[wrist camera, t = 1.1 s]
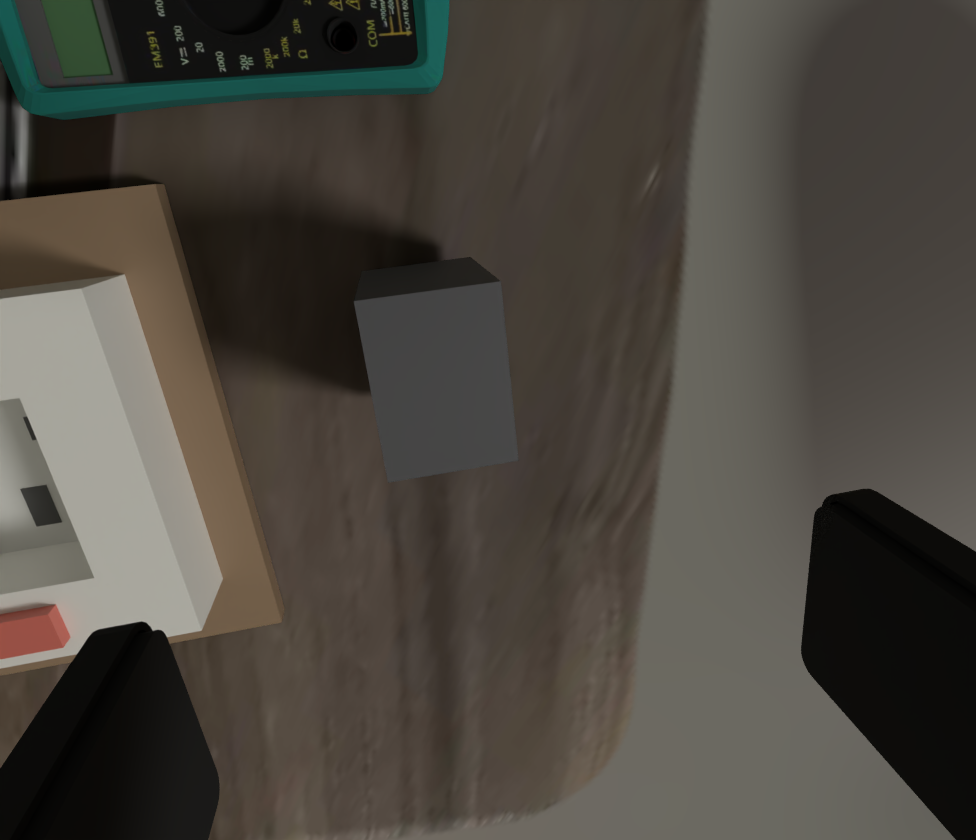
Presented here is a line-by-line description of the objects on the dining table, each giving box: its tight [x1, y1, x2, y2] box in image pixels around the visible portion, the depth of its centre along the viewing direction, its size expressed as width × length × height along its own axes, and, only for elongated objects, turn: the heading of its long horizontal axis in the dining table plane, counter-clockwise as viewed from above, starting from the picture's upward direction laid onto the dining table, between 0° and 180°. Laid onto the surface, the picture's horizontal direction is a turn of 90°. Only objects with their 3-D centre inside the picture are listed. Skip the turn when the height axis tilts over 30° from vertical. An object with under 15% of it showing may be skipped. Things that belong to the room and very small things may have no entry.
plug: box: [354, 257, 518, 482], centre depth 23 cm, size 6×4×8 cm
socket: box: [0, 184, 285, 676], centre depth 24 cm, size 20×16×5 cm
